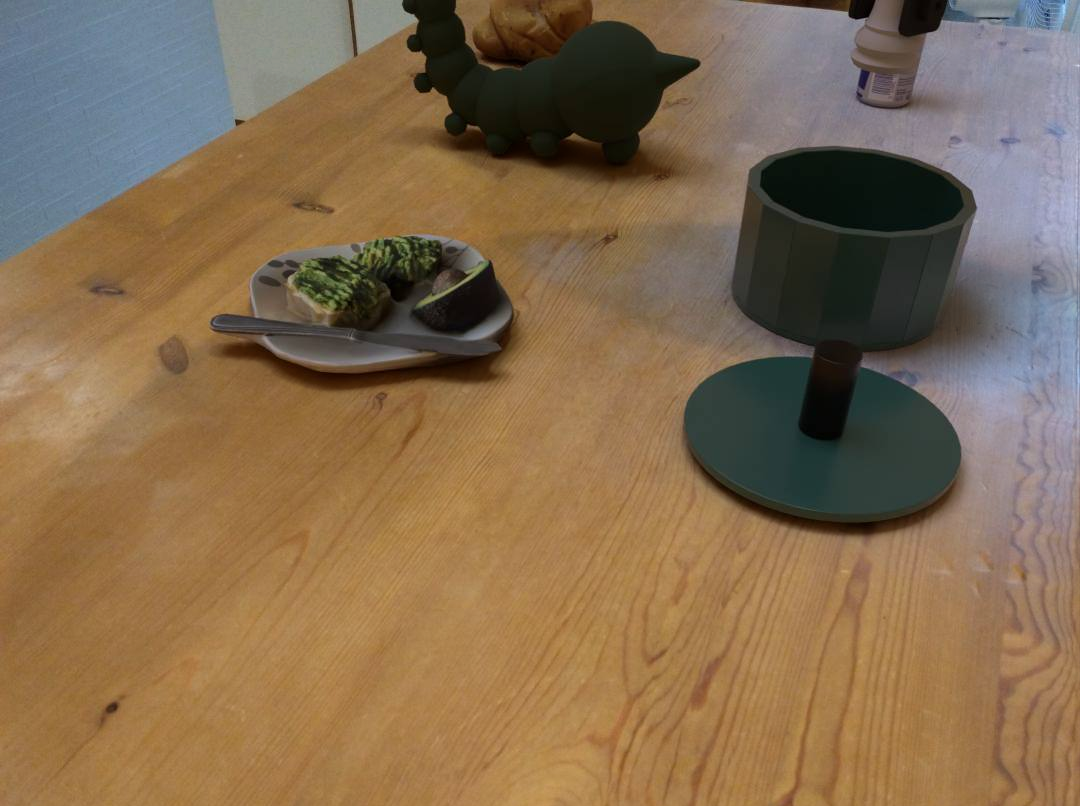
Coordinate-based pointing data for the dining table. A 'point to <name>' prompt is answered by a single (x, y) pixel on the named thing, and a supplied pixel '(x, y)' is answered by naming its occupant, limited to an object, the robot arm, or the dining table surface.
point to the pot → (850, 245)
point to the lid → (822, 437)
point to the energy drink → (887, 86)
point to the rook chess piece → (885, 42)
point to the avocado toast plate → (375, 305)
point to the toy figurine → (547, 85)
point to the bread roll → (530, 27)
